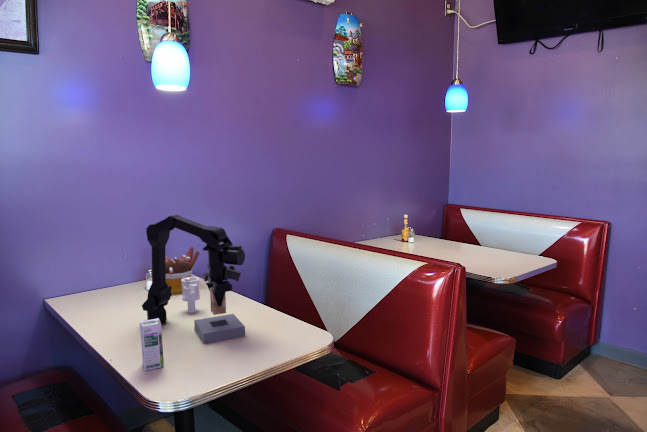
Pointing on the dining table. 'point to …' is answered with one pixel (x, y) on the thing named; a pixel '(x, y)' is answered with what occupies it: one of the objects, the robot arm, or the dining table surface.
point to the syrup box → (151, 344)
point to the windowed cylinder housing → (190, 292)
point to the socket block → (219, 328)
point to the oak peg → (214, 306)
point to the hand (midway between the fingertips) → (218, 304)
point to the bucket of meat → (179, 270)
